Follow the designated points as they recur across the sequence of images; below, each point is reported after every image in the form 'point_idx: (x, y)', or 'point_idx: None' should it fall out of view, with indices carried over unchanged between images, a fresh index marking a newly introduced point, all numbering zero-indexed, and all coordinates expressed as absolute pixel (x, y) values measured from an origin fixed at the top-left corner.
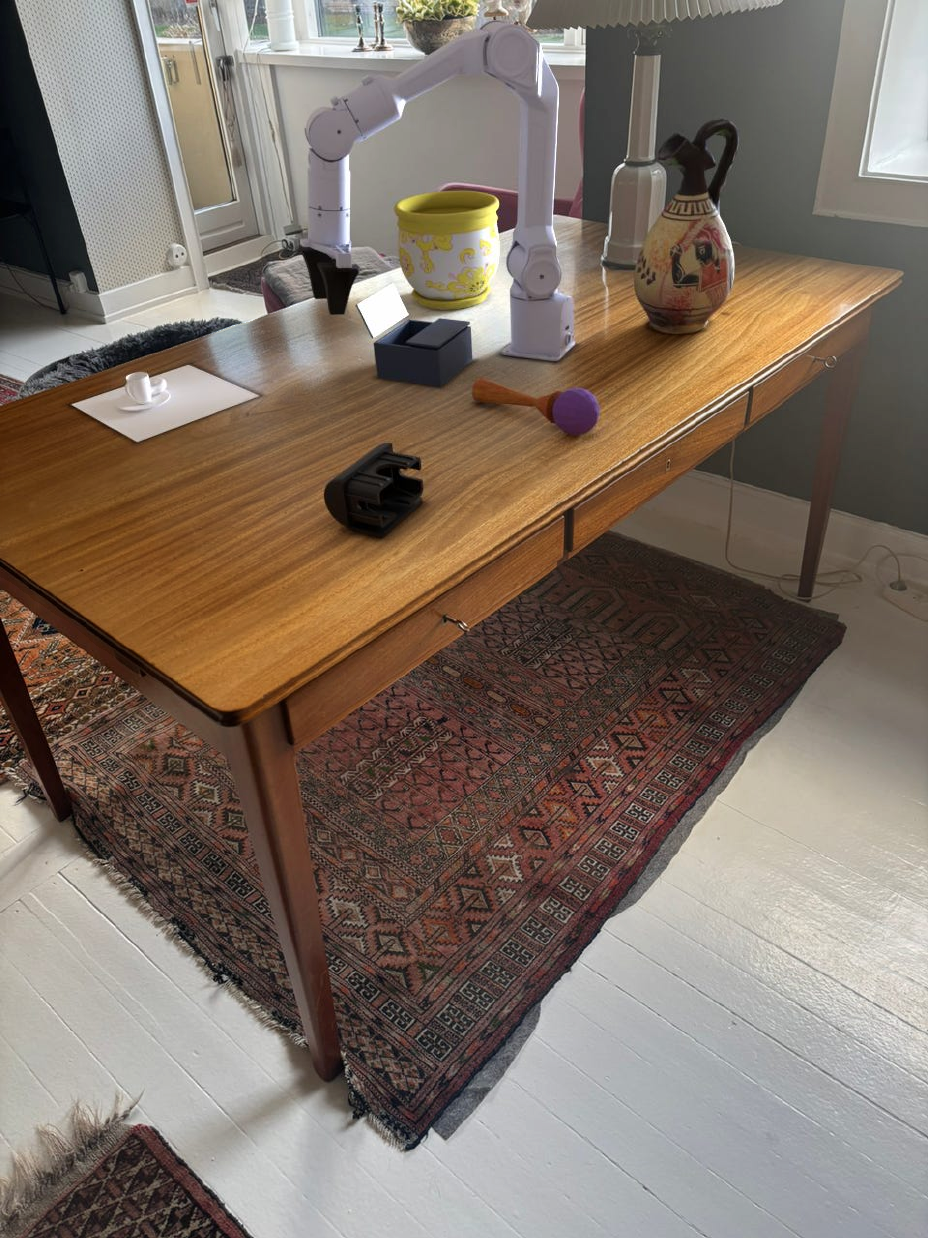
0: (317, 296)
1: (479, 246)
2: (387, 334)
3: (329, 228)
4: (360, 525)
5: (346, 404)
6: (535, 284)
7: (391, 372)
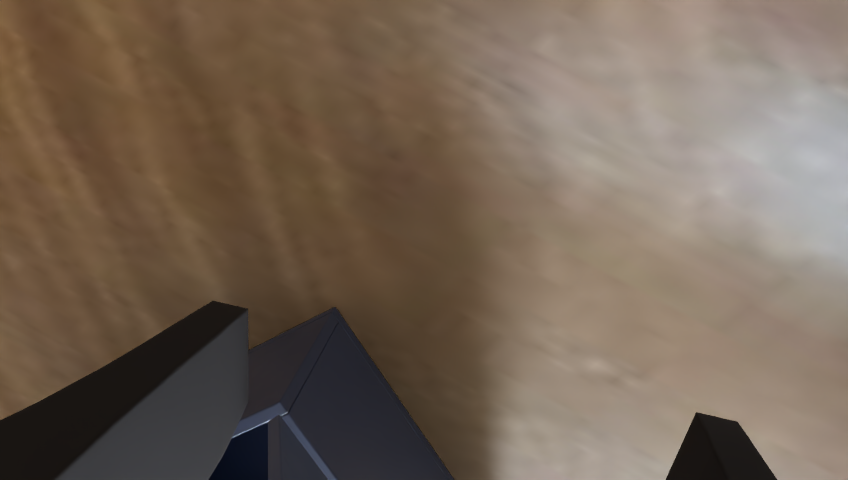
0: (693, 443)
1: None
2: None
3: None
4: None
5: (133, 49)
6: None
7: (262, 354)
